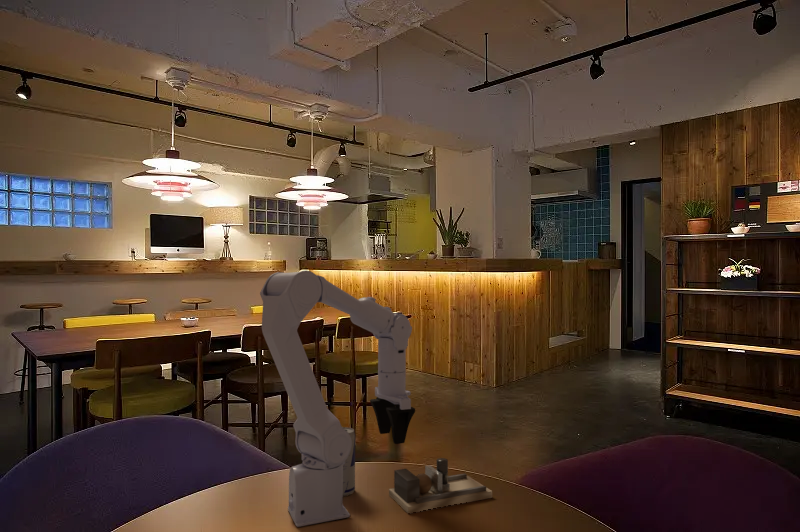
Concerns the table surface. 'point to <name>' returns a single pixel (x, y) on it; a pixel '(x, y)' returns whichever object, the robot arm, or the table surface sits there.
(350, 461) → the energy drink
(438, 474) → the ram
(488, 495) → the press base
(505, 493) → the table surface
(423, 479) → the walnut
